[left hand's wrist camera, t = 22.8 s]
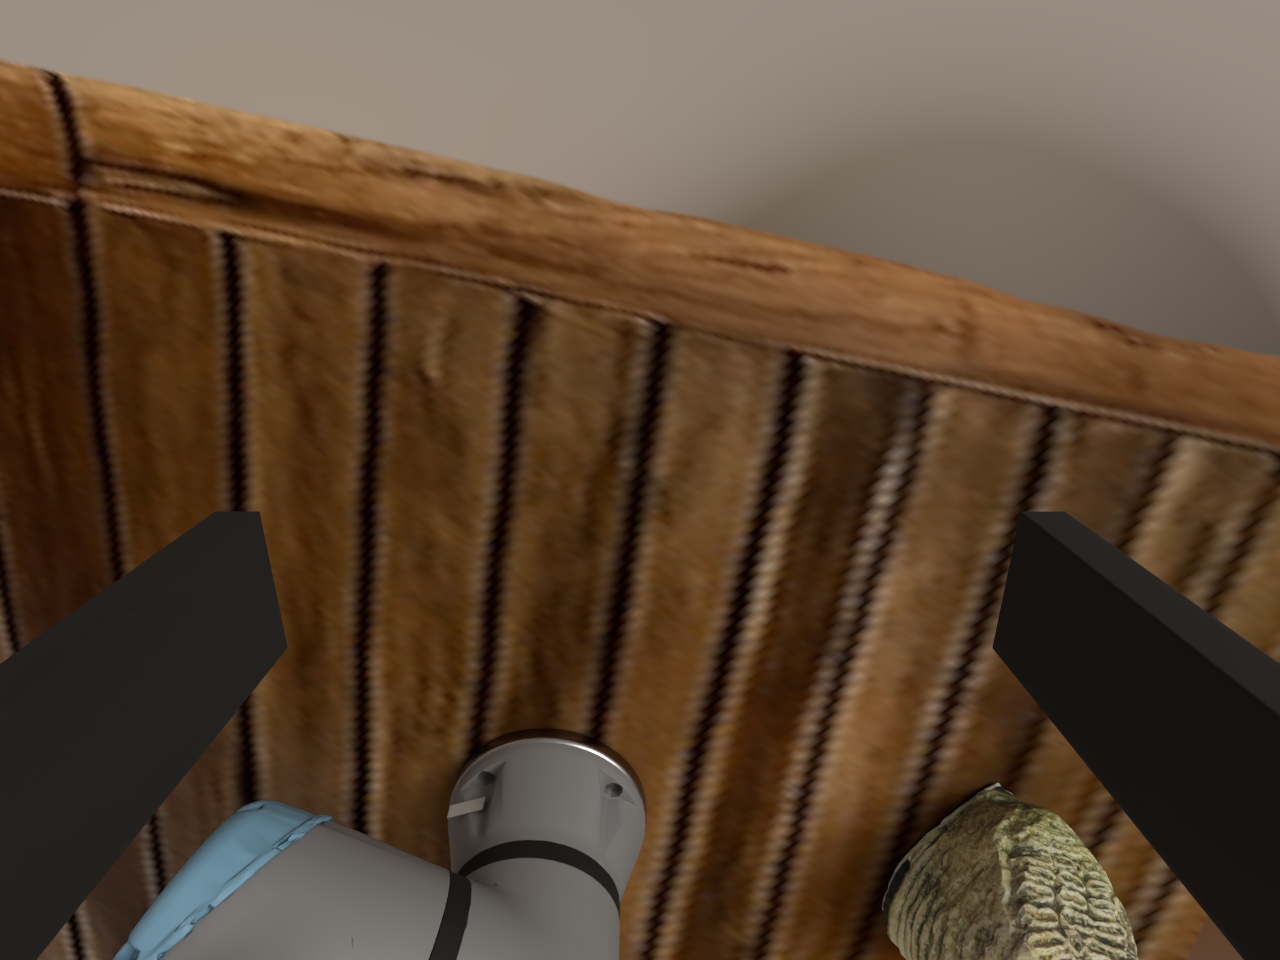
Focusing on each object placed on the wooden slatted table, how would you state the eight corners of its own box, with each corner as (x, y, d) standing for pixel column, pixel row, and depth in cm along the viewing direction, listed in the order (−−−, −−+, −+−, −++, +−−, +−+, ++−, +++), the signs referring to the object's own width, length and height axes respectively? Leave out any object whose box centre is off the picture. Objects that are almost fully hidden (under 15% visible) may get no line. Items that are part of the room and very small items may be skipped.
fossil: (1062, 776, 55) (1205, 968, 41) (959, 938, 62) (1054, 1153, 48) (956, 751, 54) (1066, 938, 40) (864, 918, 61) (931, 1130, 47)
